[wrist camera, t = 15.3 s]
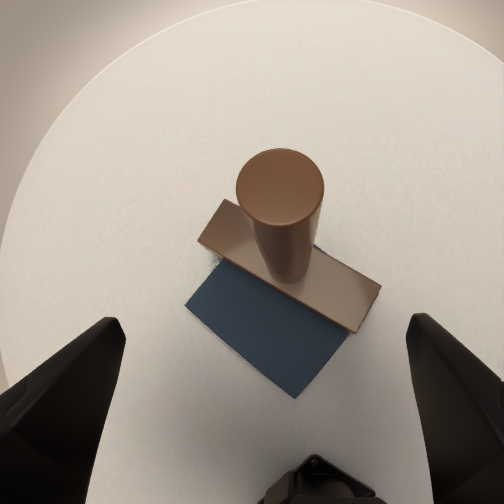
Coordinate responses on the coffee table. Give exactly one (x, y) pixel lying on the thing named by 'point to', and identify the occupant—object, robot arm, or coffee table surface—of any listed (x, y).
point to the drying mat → (266, 327)
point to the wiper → (287, 238)
